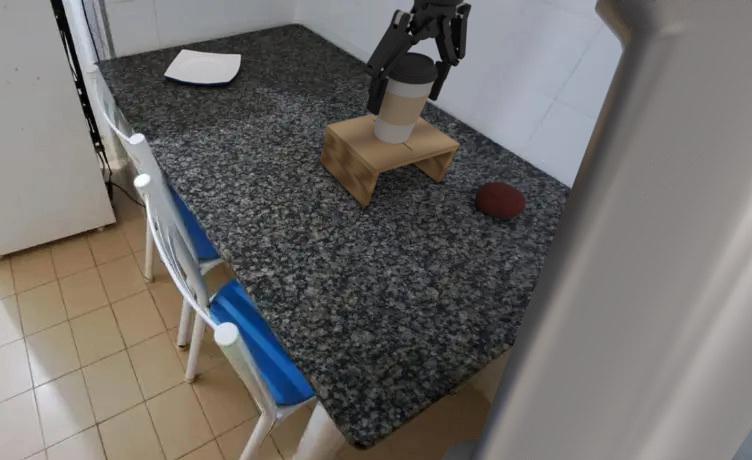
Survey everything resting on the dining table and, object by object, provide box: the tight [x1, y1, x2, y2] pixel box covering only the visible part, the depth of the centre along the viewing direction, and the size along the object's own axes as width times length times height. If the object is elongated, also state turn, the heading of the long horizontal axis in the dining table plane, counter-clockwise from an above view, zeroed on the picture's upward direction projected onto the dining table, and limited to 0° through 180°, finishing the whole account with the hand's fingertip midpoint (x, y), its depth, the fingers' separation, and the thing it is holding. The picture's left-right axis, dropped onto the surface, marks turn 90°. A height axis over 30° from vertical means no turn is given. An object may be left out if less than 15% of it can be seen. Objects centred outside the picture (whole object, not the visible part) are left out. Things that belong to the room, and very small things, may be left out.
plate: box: [163, 49, 242, 87], centre depth 115 cm, size 20×20×3 cm
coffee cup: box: [374, 51, 438, 144], centre depth 72 cm, size 9×9×15 cm
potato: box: [474, 181, 527, 219], centre depth 73 cm, size 7×8×6 cm
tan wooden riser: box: [319, 113, 460, 208], centre depth 81 cm, size 16×20×9 cm
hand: (401, 104), depth 73 cm, fingers open, 13 cm apart
